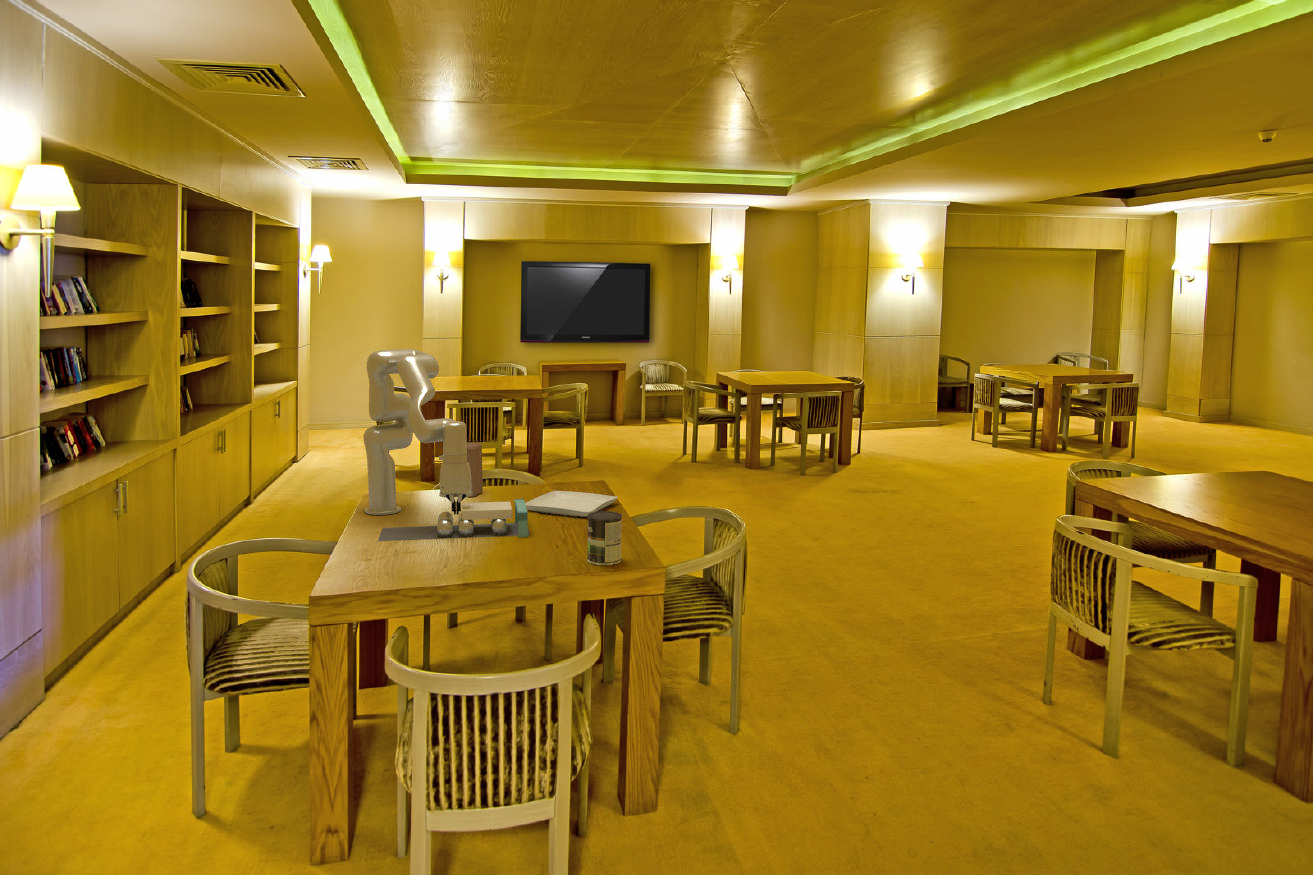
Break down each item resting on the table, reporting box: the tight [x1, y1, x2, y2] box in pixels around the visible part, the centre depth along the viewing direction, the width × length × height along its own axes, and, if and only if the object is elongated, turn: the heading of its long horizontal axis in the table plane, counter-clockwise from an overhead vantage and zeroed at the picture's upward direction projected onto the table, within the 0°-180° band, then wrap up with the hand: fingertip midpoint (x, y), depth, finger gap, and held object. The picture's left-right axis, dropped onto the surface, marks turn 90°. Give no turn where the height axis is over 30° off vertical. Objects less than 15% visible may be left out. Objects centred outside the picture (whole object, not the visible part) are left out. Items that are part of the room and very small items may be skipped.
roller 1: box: [436, 511, 454, 539], centre depth 306 cm, size 16×5×5 cm
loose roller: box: [490, 519, 507, 537], centre depth 309 cm, size 16×5×5 cm, turn 12°
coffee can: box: [586, 510, 623, 567], centre depth 276 cm, size 10×10×14 cm
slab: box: [461, 501, 513, 521], centre depth 308 cm, size 12×16×3 cm
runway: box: [377, 498, 531, 542], centre depth 306 cm, size 21×48×8 cm, turn 102°
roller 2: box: [457, 511, 475, 537], centre depth 307 cm, size 16×5×5 cm, turn 12°
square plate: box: [525, 490, 619, 518], centre depth 344 cm, size 27×27×4 cm
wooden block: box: [453, 442, 484, 498], centre depth 364 cm, size 10×10×20 cm
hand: (456, 513), depth 306 cm, fingers closed
